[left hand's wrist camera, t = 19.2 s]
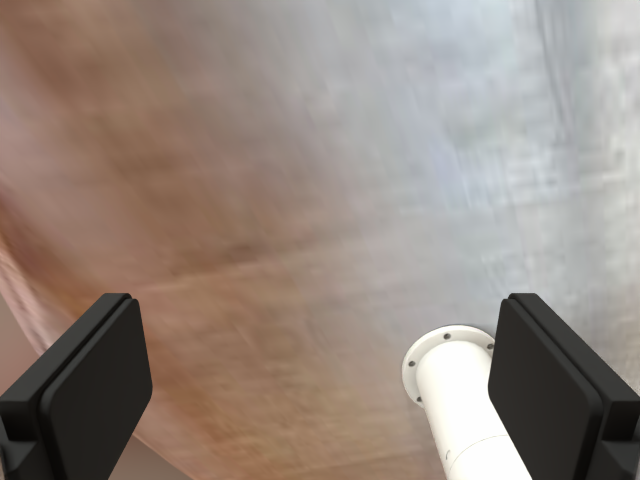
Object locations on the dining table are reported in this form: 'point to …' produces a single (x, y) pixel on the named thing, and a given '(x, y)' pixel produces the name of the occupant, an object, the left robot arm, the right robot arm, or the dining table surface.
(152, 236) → the dining table surface
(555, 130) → the dining table surface
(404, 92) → the dining table surface
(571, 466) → the left robot arm
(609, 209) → the dining table surface
